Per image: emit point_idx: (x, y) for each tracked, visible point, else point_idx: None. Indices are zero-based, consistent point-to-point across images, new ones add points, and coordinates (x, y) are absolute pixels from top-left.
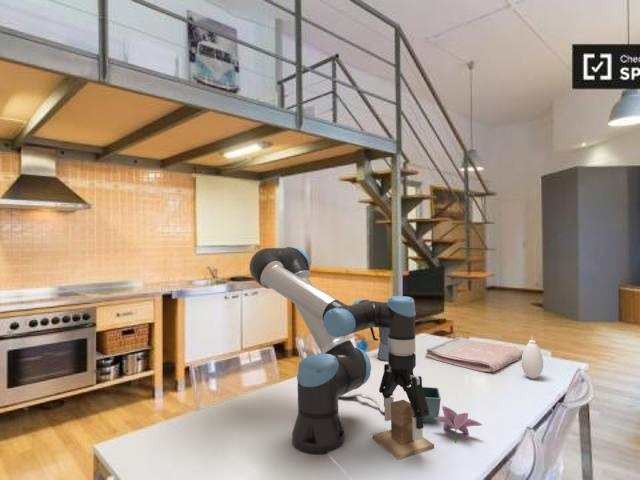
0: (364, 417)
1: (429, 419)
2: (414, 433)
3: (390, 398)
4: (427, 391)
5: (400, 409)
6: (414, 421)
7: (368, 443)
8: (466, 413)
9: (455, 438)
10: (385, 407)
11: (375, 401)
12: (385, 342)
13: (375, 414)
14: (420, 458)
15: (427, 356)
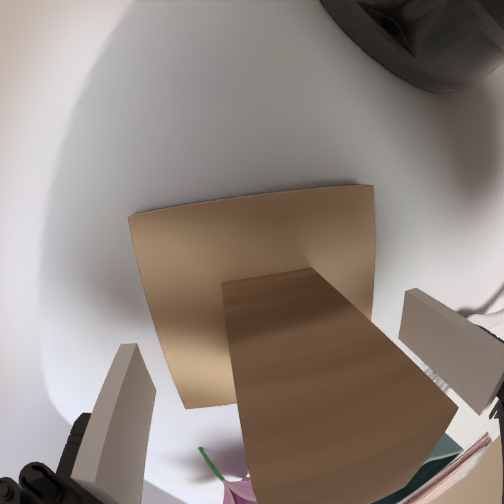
0: (478, 246)
1: None
2: (107, 375)
3: (488, 395)
4: (416, 478)
5: (260, 475)
6: (82, 443)
7: (339, 147)
8: None
9: (208, 463)
10: (466, 326)
11: (501, 314)
12: None
13: (472, 291)
14: (136, 321)
15: (485, 435)
